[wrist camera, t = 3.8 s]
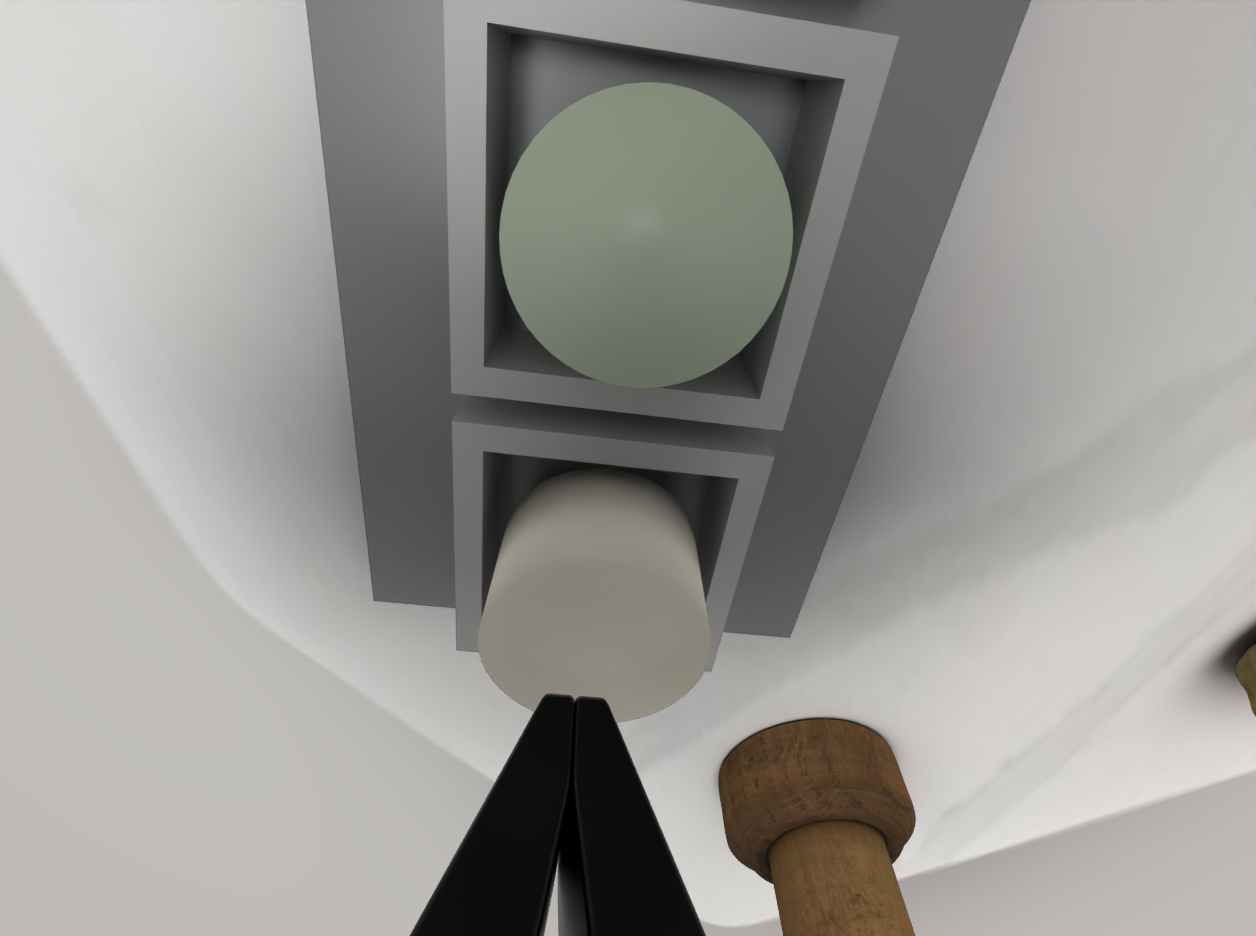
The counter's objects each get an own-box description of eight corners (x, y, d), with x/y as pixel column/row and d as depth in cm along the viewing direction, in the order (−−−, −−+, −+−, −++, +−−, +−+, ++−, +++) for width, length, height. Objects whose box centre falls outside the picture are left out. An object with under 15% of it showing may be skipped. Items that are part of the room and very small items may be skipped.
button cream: (712, 480, 13) (734, 573, 11) (677, 625, 16) (688, 731, 13) (506, 457, 13) (478, 548, 10) (501, 610, 15) (477, 715, 13)
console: (1242, -670, 8) (1582, -1084, 5) (782, 613, 19) (809, 701, 16) (238, -934, 7) (-20, -1620, 4) (385, 576, 18) (343, 663, 16)
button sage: (782, 103, 11) (831, 109, 8) (728, 340, 13) (754, 402, 11) (532, 64, 11) (503, 58, 8) (521, 315, 13) (496, 371, 10)
